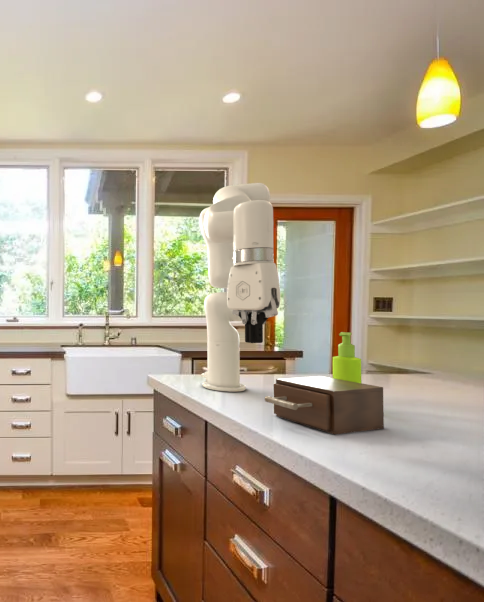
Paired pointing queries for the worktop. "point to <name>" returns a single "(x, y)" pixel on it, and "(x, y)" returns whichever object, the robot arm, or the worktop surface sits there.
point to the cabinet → (345, 403)
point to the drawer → (302, 405)
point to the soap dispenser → (346, 361)
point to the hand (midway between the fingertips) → (253, 342)
